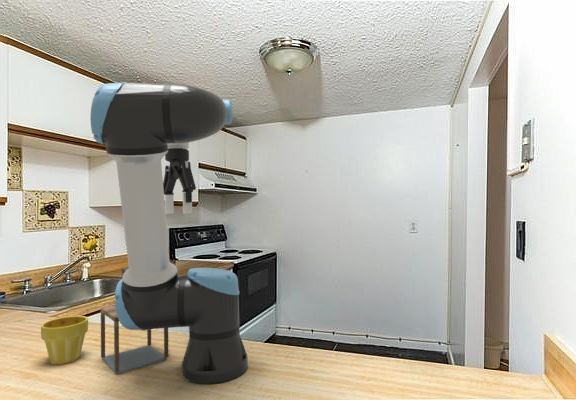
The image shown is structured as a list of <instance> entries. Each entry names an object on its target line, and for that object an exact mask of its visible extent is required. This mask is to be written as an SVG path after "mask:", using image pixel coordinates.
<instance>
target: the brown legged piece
mask: <svg viewBox="0 0 576 400" xmlns="http://www.w3.org/2000/svg"><path fill="white" fill-rule="evenodd" d="M128 268H129V267H123V268H121V279H122V278H123V274H124V273H125V271H126V270H127V269H128ZM106 317H107V318H108V319H110V320H112V321H113V331H114V332H113V333H114V334H113V337H114V338H113V340H114V342H113V345H114V346H113V348H114V351H113V352H114V353H113V354H114V371H113V373H115V374H116V372H119V353H120V321H119V319H118V317H117V313H116V309H115V304H114V305H109V306H103V307H101V308H100V358H101V359H102V358H103V357H105V356H106ZM146 333H147V335H146V336H147V337H146V338H147V339H146V340H147V341H146V343H147V344H146V346H147V345H148V346H152V329H148V330H146ZM163 355H164V357H165V358H167V359H168V358H170V357H169V355H170V354H169V328H163Z"/></svg>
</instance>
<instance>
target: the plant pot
mask: <svg viewBox="0 0 576 400" xmlns="http://www.w3.org/2000/svg"><path fill="white" fill-rule="evenodd" d="M40 325H41V326H40V335H41V340H42V341H44V343H45V344H44V345H45V348H46V351H47V354H48V359H49V362H50V364H52V365H64V364H68V363H72V362H74V361H76V360H78V359H79V358H80V357H81V354H82V353H81V352H82V348H83V345H84V341H85V340H84V339H85V336H86V334H87V332H88V330H89V318H88V316H85V315H68V316H61V317H57V318H52V319H50V320H47V321H44V322H43V323H42V324H40Z"/></svg>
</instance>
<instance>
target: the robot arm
mask: <svg viewBox="0 0 576 400" xmlns="http://www.w3.org/2000/svg"><path fill="white" fill-rule="evenodd" d="M90 107H91V108H90V117H89V118H90V120H89V121H90V130H91V133H92V135H93V139H94V141H96V142H97V143H99V144H101V145H105V149H106V155H108V156H109V158H111V159H112V160H114V161H115V162H116V170H117V177H118V179H117V180H118V187H119V194H120V204H121V211H122V221H123V228H124V229H123V230H124V239H125V246H126V247H125V248H126V253H127V254H126V255H127V262H128V263H127V264H128V267H127V268H128V269H127V270H126V271H125V273H124V274H123V278H122V277H121V279H120V280H119V281H118V283H117V284H116V286H115V287H116V288H115V292H114V297H115V301H114V305H115V309H116V313H117V317H118V319H119V324H121V326H122V327H123V328H125V329H127V330H130V331H133V330H134V331H137V330H139V331H147V330H148V329H151V330H155V329H156V330H157V329H164V328H168V329H169V328H186V327H188V335H189V336H188V337H189V338H188V342H187V345H186V349H185V352H184V355H183V359H182V363H181V375H182V377H183V378H184V379H185V380H187V381H189V382H192V383H195V384H205V385H206V384H208V385H209V384H219V383H224V382H228V381H231V380H234V379H236V378H239V377H240V376H242V375H243V374H244V373H245V372H246V371H247V370H248V368H249V366H248V365H249V363H248V361H249V360H248V354H247V352H246V348H245V345H244V342H243V340H242V336H241V334H240V333H241V332H240V331H241V330H240V307H239V305H240V302H239V295H240V290H239V279H238V276H237V274H236V273H234V272H233V271H232V270H231V271H230V270H228V269H222V268H214V267H194V268H193V267H192V268H189V270H188V272H187V274H185V275H179V274H178V268H177V266H176V265H175V264H174V263H172V262H171V261H170V250H169V249H170V248H169V239H168V228H167V227H168V225H167V215H174V214H175V210H174V209H175V208H174V207H175V206H174V205H175V204H174V203H175V202H174V198H175V197H174V195H175V193H174V189H175V186H176V183H177V180H179V182H180V185H181V187H182V191H181V192H182V214H184V215H185V214H186V215H187V214H193V192H194V191H195V190H196V184H195V179H194V177H193V172H192V167H191V165H192V164H191V161H190V151H189V148H190V146H189V143H193V142H197V141H201V140H203V139H204V140H205V139H206V138H209V137H211V136H214V135H215V134H217V133H219V132H220V131H221V130H222V129H223V128H224V126H225V125H231V124H233V103H232V101H231V100H230V99H222V98H221V97H219V96H218V95H217V94H215V93H213V92H212V91H209V90H206V89H203V88H199V87H196V86H192V85H187V84H181V83H149V82H148V83H142V82H139V83H138V82H125V81H123V82H111V83H104V84H102V85H100V86H99V87H98V88H97V89H96V91H95V93H94V95H93V98H92V101H91V106H90ZM163 158H164V159H165V161H166V162H169V165H165V166H164V167H165V168H164V169H165V170H164V177H163V167H162V166H163V165H162V159H163Z"/></svg>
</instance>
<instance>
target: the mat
mask: <svg viewBox="0 0 576 400" xmlns="http://www.w3.org/2000/svg"><path fill="white" fill-rule="evenodd" d="M167 359H168V358H165V357H164V353H161V352H160V351H158V349H156V348H154V347H153V346H152V345H150V346H148V345H147V344H146V345H144V346H139V347H136V348H132V349H128V350H125V351H121V352H120V351H119V372H116V373H115V375H118V374H122V373H125V372H128V371H132V370H135V369H139V368H143V367H145V366H148V365H151V364H155V363H158V362H162V361H165V360H167ZM101 360H103V361H104V363H105V364H106V365H107V366H108V367H109V369H111V370H112V372H114V353H113V354H109V355H105V357H103V358H101Z"/></svg>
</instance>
